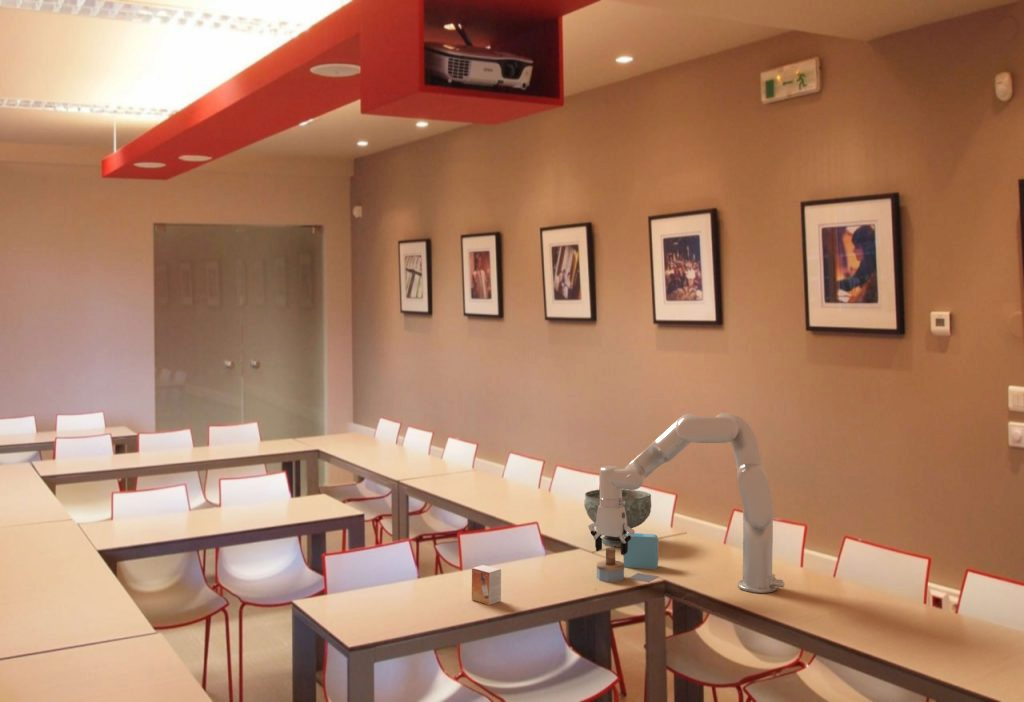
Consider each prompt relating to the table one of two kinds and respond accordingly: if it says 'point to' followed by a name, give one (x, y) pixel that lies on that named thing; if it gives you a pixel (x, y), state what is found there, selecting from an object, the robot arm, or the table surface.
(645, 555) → the data package
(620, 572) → the bowl
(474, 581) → the small box
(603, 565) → the lid
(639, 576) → the mat
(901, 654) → the table surface
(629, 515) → the decorative bowl
